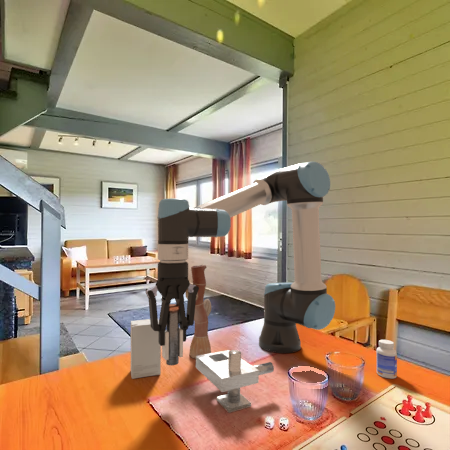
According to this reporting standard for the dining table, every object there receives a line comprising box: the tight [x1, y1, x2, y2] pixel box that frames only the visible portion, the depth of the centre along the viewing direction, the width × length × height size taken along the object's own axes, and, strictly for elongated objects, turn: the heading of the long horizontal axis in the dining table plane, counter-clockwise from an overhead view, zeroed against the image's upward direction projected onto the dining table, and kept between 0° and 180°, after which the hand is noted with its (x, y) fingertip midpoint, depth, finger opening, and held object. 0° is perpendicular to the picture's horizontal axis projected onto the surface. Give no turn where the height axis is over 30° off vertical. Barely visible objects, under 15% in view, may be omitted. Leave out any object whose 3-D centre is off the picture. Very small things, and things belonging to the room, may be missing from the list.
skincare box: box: [130, 318, 162, 380], centre depth 89 cm, size 8×6×15 cm
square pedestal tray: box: [195, 349, 275, 413], centre depth 79 cm, size 14×16×12 cm
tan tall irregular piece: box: [185, 264, 212, 360], centre depth 103 cm, size 10×7×30 cm
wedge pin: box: [165, 303, 180, 366], centre depth 76 cm, size 3×3×14 cm
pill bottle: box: [375, 339, 398, 379], centre depth 91 cm, size 5×5×10 cm
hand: (172, 356), depth 76 cm, fingers closed on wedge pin, 3 cm apart
